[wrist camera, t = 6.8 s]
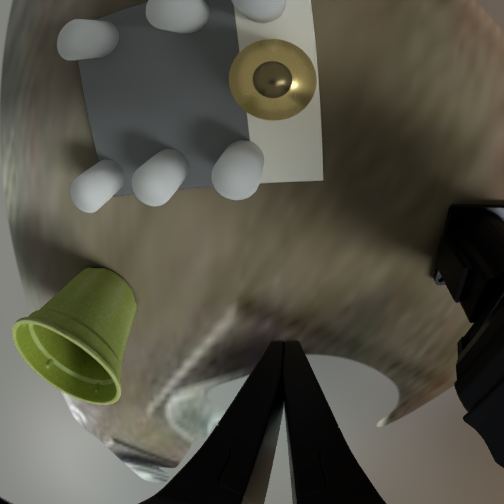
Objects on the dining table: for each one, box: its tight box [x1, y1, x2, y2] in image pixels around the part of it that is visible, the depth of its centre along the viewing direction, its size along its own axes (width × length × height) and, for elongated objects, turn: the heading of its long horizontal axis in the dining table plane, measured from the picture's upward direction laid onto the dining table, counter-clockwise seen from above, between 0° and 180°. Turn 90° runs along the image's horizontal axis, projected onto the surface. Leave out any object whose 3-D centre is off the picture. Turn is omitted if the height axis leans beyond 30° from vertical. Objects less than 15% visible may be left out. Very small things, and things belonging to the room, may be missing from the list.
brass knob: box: [229, 39, 317, 121], centre depth 14 cm, size 4×4×3 cm
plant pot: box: [12, 267, 137, 405], centre depth 23 cm, size 9×9×9 cm
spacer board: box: [57, 0, 323, 213], centre depth 15 cm, size 15×12×4 cm
